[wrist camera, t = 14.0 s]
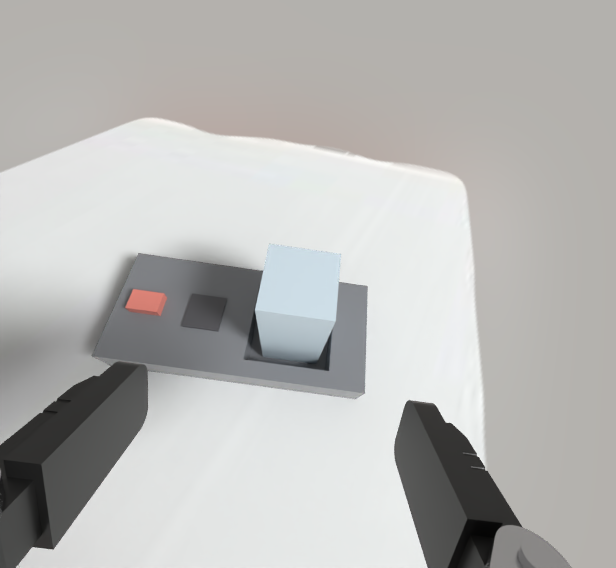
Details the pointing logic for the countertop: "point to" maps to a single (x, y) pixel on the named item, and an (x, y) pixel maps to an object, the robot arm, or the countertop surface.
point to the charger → (297, 302)
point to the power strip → (224, 329)
